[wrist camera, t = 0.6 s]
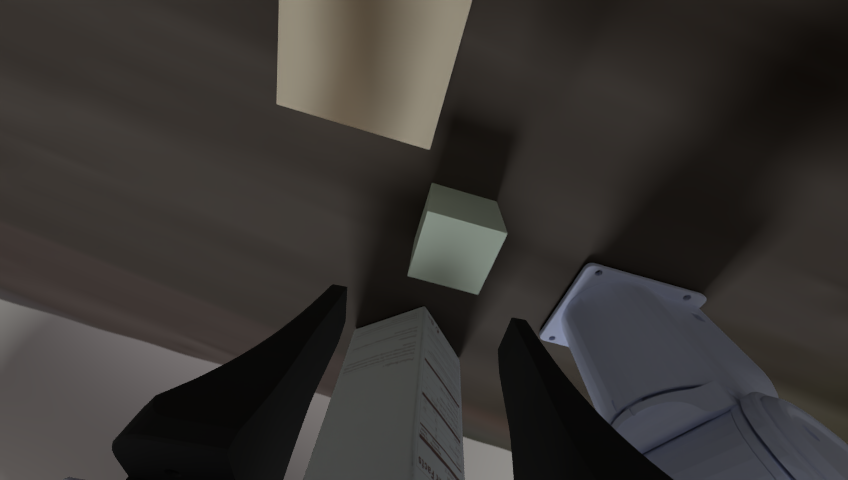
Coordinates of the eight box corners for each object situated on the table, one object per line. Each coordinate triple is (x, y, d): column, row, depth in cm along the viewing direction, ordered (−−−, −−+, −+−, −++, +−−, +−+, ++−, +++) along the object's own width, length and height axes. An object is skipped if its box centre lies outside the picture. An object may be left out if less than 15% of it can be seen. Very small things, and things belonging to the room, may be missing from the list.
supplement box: (393, 377, 30) (361, 553, 19) (353, 327, 27) (288, 504, 16) (462, 359, 28) (470, 545, 17) (427, 302, 25) (411, 486, 14)
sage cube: (496, 201, 20) (507, 233, 16) (473, 254, 23) (478, 294, 19) (431, 182, 20) (427, 210, 16) (414, 238, 22) (407, 275, 18)
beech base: (479, -30, 14) (486, -50, 12) (432, 137, 18) (429, 149, 16) (313, -88, 14) (281, -122, 11) (301, 98, 18) (276, 104, 15)
